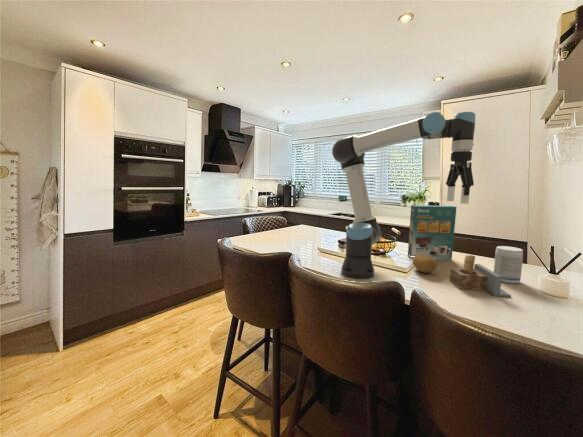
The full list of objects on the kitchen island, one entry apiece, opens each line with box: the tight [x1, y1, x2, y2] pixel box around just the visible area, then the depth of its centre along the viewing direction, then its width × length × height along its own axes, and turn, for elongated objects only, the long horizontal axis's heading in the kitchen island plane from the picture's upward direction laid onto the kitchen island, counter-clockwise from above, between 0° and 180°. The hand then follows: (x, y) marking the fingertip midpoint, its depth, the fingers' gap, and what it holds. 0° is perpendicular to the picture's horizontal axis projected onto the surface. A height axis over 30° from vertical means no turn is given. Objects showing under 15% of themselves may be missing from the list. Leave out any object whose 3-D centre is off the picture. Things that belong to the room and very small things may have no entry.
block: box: [449, 267, 487, 292], centre depth 115 cm, size 10×9×6 cm
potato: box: [412, 255, 438, 274], centre depth 132 cm, size 10×14×8 cm
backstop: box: [473, 263, 512, 298], centre depth 112 cm, size 6×16×8 cm, turn 171°
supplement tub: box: [493, 245, 524, 284], centre depth 121 cm, size 10×10×15 cm
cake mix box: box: [407, 204, 457, 261], centre depth 155 cm, size 22×6×30 cm, turn 85°
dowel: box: [462, 254, 476, 274], centre depth 114 cm, size 4×4×12 cm
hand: (456, 202), depth 117 cm, fingers open, 13 cm apart
